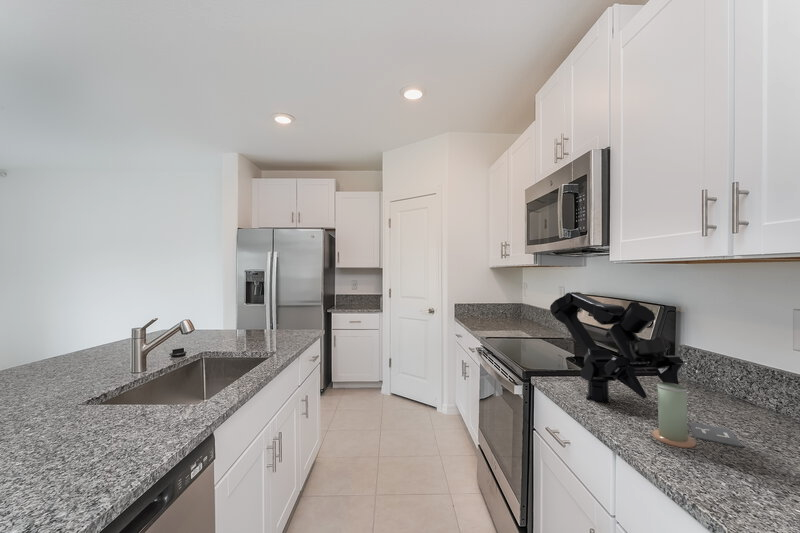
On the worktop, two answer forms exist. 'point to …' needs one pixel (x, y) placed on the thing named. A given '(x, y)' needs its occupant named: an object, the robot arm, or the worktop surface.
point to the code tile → (714, 434)
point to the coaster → (688, 444)
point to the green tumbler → (672, 411)
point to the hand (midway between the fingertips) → (662, 397)
